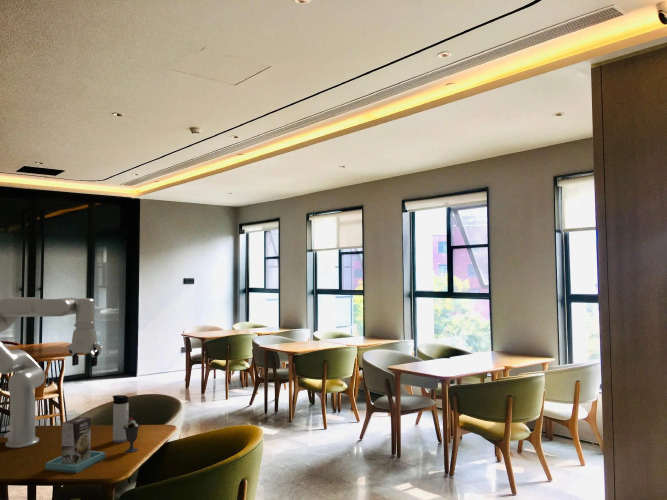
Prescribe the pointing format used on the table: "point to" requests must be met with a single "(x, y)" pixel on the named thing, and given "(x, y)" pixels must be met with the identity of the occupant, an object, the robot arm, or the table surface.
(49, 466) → the tray
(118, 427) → the travel mug
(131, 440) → the sundae
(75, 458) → the coffee box
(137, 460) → the table surface
